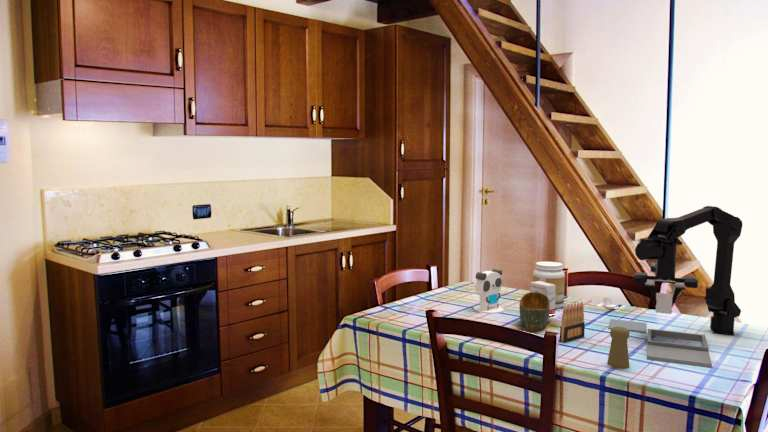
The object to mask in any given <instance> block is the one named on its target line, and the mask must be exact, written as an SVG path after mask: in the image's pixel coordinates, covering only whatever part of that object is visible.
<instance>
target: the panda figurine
mask: <svg viewBox="0 0 768 432" xmlns="http://www.w3.org/2000/svg"><path fill="white" fill-rule="evenodd" d="M502 275H503V271H502V270H500V269H495V268H492V270H484V271H482V272H478V271H477V272H476V274H475V279H476V282H475V291H476V293H477V295H478V296H479V305H475V306H474V307H473V310H474V311H476V312H478V313H482V314H500V313H503V312H504V311H505V309H504V308H503V307H501V306H499V300H500V298H501V292H500V291H501V289H502V284H503V282H502Z"/></svg>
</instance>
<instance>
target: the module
mask: <svg viewBox="0 0 768 432" xmlns="http://www.w3.org/2000/svg"><path fill="white" fill-rule="evenodd" d="M672 296H673V294H672V293H662V292H656V306H655V313H658V314H666V315H667V314H668V315H672V314H673V313H672V312H673V307H672Z"/></svg>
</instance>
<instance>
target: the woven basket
mask: <svg viewBox="0 0 768 432" xmlns="http://www.w3.org/2000/svg"><path fill="white" fill-rule="evenodd" d="M549 308H550V302H549V298H548V297H547V296H546V295H544V294H542V293H539V292H537V291H536V292H530V291H529V292H527V293H525V294H524V295H522V296H521V298H520V300H519V317H520V318H519V319H520V321H521V325H522V327H523V328H524V329H525V330H528V331H531V332H539V330H540V331H542V330H544V329H545V328H546V327H547V323H549V322H548V321H549ZM543 328H544V329H543Z"/></svg>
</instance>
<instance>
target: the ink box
mask: <svg viewBox="0 0 768 432" xmlns="http://www.w3.org/2000/svg"><path fill="white" fill-rule="evenodd" d="M529 288H530V289H529V293H530V292H536V291H537V292H539V293H542V294H544V295H546V296H547V297H548V298H549V302H550V308H549V314H554V313H555V314H556V309H555V285H554V284H550V283H546V282H542V281H536V282H533V281H530V282H529Z"/></svg>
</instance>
